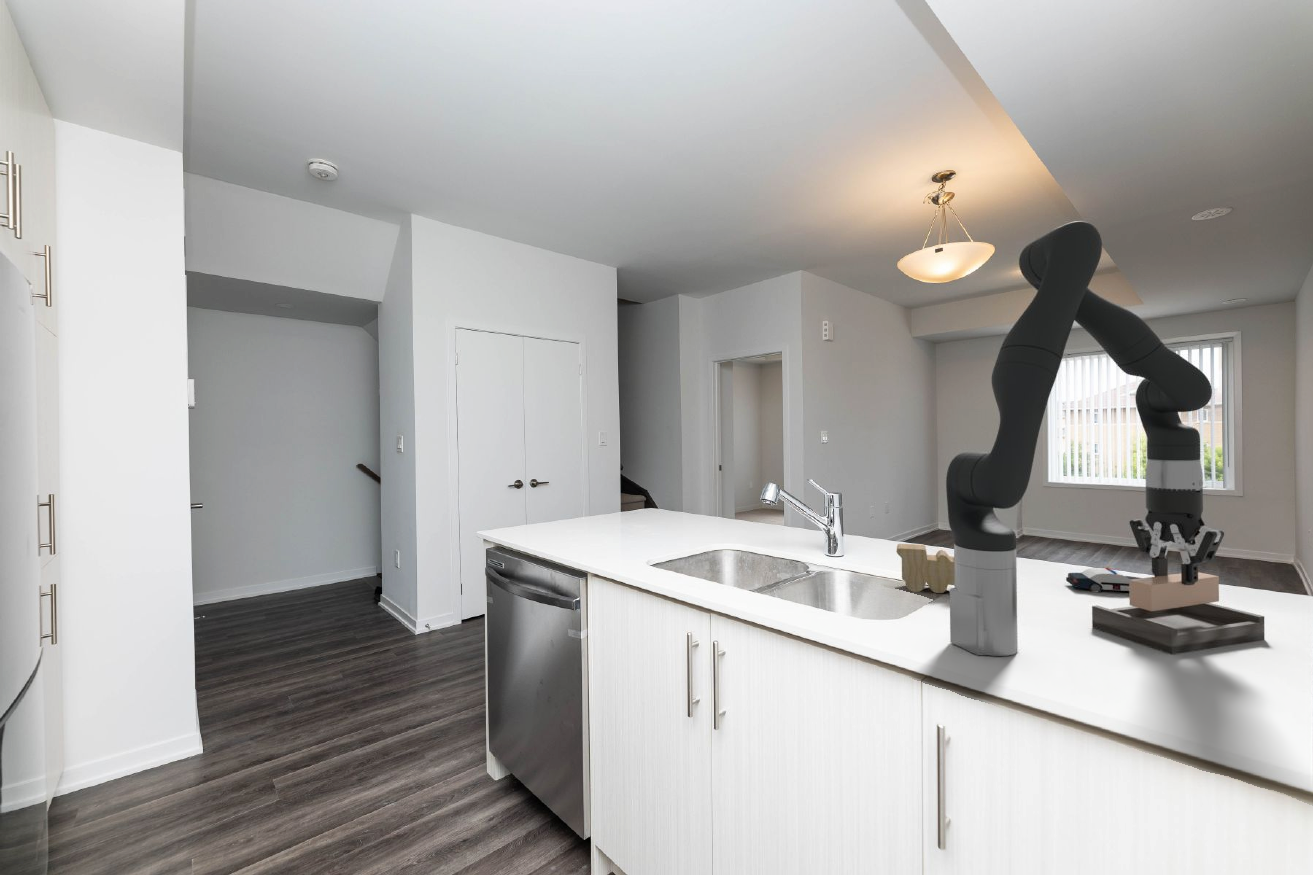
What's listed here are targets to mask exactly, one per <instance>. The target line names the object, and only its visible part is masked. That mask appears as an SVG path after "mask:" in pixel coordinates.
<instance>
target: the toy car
mask: <svg viewBox="0 0 1313 875" xmlns="http://www.w3.org/2000/svg"><path fill="white" fill-rule="evenodd" d="M1140 578H1141V577H1138V576H1130V575H1129V576H1128V575H1124V574H1122V573H1120V572H1118V571H1117V570H1116V569H1112V568H1110V567H1105V568H1103V567H1102V568H1101V567H1100V568H1099V567H1097V568H1096V567H1094V568H1091V567H1090V568H1087V569H1084V570H1083V571H1081V572H1069V573H1068V574H1067V576H1066V579H1065V581H1066V582H1068V584H1070V585H1071V586H1072V587H1075V588H1080V589H1086V590H1088V591H1090V592H1091V591H1099V592H1098V593H1101V592H1102V590H1104V591H1123V592H1125V591H1126V592H1129V580H1133V579H1140Z"/></svg>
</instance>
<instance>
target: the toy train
mask: <svg viewBox="0 0 1313 875" xmlns="http://www.w3.org/2000/svg"><path fill="white" fill-rule="evenodd" d="M896 553H897V555H898V556H899V557H900V558H901V579H902V581H904V582H905V586H906V588H907V590H909V591H911V592H912V593H919V592H922V591H923V590H924V589H925V588H926V585H927V586H928V587H929V589H930V590H931V591H932V592H934V593H936V594H942V593H945V592H946V590H948V587H949V586H953V587H955V579H954V556H951V555H949V554H948V553H947V552H946V551H945V550H943V549H939V550H938V551H937V552H936V554H935V555H934V554H928V553H927V547H926V545H925V544H916V543H915V544H913V543H911V544H910V543H898V544H897V546H896Z"/></svg>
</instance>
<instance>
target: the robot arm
mask: <svg viewBox="0 0 1313 875" xmlns="http://www.w3.org/2000/svg"><path fill="white" fill-rule="evenodd" d="M1101 237H1102V236H1101V234H1100V232H1099V230H1098V228H1096V227H1095V226H1094V225H1093V224H1092V223H1090V222H1087V221H1083V220H1078V221H1077V220H1076V221H1071V222H1069V223H1065V224H1063V225H1060V226H1058V227H1056V228H1054V229H1053V230H1051V231H1049V232H1047V233H1045V234H1044V235H1041V236H1040V237H1038V238H1036V239H1035V240H1033V241H1031V242H1029V243H1028V244H1027V245H1026V246H1025V247H1024V248H1023V249H1022V251H1021V253H1020V255H1019V258H1018V267H1019V270H1020V272H1021V275H1022V276H1023V277H1024V279H1025V280H1026V281H1027V282H1028V283H1029V284H1030V285H1031V286H1032V287H1033V288H1034V289H1035V290H1036V291H1037V292H1036V294H1035V296H1034V297H1033V299H1032V300H1031V302H1030V304H1029V305H1028V306H1027V307H1026V308H1025V310H1024V312H1023V313H1022V314H1021V315H1020V316H1019V317H1018V320H1016V322H1015V323H1014V325H1013V326H1012V327H1011V329H1010V330H1009V331H1008V333H1007V335H1006V336H1005V338H1004V340H1003V342H1002V344H1001V346H1000V348H999V351H998V355H997V358H996V361H995V364H994V366H993V370H992V373H991V388H992V391H993V395H994V398H995V402H996V404H997V408H998V412H999V425H998V426H999V427H998V430H997V434H996V437H995V442H994V444H993V447H992V449H991V451H989V452H988V451H964V452H961V453H959V454H957V455H955V456H954V457H953V459H952V460H951V461H950V463H949V465H948V468H947V472H946V478H945V479H946V480H945V485H946V486H945V488H946V489H945V490H946V492H945V493H946V503H947V504H946V505H947V516H948V524H949V528H950V530H951V533H952V536H953V543H954V544H953V551H954V552H953V557H954V579H955V586H954V587H952V588H950V589H949V625H950V626H949V628H950V629H949V630H950V632H949V633H950V634H949V635H950V636H949V637H950V643H951V644H954V645H955V646H958V647H959V648H962V649H964V650H965V651H968V652H970V653H973V655H977V656H991V657H992V656H993V657H994V656H997V657H1006V656H1008V657H1009V656H1012V655H1015V654H1016V653H1018V651H1019V650H1018V648H1019V646H1018V645H1019V642H1018V591H1017V589H1018V586H1017V585H1018V583H1017V580H1018V579H1017V578H1018V577H1017V570H1018V569H1017V535H1016V533H1015V531H1014V530H1013V529H1012V528H1010V527H1009V526H1007V525H1006V524H1005V523H1003V522H1002V521H1001V520H1000V518H999V517H997V515H996V513H995V512H994V509H1000V510H1006V509H1011V508H1013V507H1015V506H1016V505H1018V504H1019V502H1021V500H1022V499H1023V497H1024V495H1025V493H1026V491H1027V489H1028V485H1029V482H1030V478H1031V474H1032V468H1033V463H1034V459H1035V455H1036V454H1035V453H1036V448H1037V445H1038V438H1039V434H1040V430H1041V426H1042V422H1043V419H1044V415H1045V413H1046V412H1045V411H1046V409H1047V408H1046V407H1047V406H1048V402H1049V399H1050V395H1051V393H1052V389H1053V387H1054V385H1055V381H1056V379H1057V376H1058V373H1059V369H1060V366H1061V363H1062V360H1063V356H1064V353H1065V349H1066V345H1067V342H1068V340H1069V336H1070V334H1071V330H1072V328H1073V326H1074V323H1075V322H1076V323H1077V324H1078V325H1079V326H1080V327H1082V328H1083V330H1085V331H1086V332H1087V333H1088V334H1089V335H1090V336H1091V337H1092V338H1093V339H1094V340H1095V341H1096V342H1097V343H1098V344H1099V345H1100V346H1101V348H1102V349H1103V350H1104V351H1105V352H1106V353H1107V355H1108V356H1109V357H1110V358H1111V360H1112V361H1113V362H1114V363H1115V364H1116V365H1117V367H1119V369H1120V370H1121V371H1122V372H1123V373H1125V374H1127V375H1128V376H1129V375H1130V376H1134V377H1140V378H1143V379H1142V380H1141V381H1140V383H1139V384H1138V386H1137V389H1136V391H1135V406H1136V408H1137V412H1138V416H1139V419H1140V422H1141V425H1142V427H1143V430H1144V432H1145V435H1146V459H1147V460H1146V465H1145V466H1146V467H1145V475H1144V476H1145V508H1146V509H1147V514H1146V516H1145V518H1140V519H1131V520H1130V521H1129V526H1130V528H1131V531H1132V533H1133V536H1134V539H1135V541H1136V544H1137V546H1138V549H1139V551H1140V552H1141V553H1146V554H1148V555H1149V556H1150V557H1151V572H1152V575H1154V577H1156V576H1164V575H1169V572H1168V569H1169V568H1168V565H1169V562H1168V558H1169V557H1166V556H1167V555H1168V551H1169V547H1170V546H1171V545H1172V544H1175V547H1176V549H1177V550H1178V552H1179V553H1180V557H1181V560H1182V563H1180V566H1181V567H1180V573H1181V582H1182V584H1184V585H1194V584H1195V582H1197V581H1198V572H1199V565H1200V564H1202V563H1206V562H1207V563H1209V562H1212V561H1213V560H1214V558H1215V555H1216V553H1217V552H1218V549H1219V547H1220V545H1221V543H1222V540H1223V539H1224V536H1225V532H1224V531H1223V530H1221V529H1218V530H1217V529H1213V528H1211V527H1208V526H1206V524H1205V521H1203V518H1202V514H1203V511H1204V491H1203V490H1204V486H1203V485H1204V481H1203V475H1204V474H1203V468H1202V464H1201V461H1202V460H1201V434H1200V431H1199V430H1198V429H1197V428H1195V427H1193V426H1189V425H1186V424H1184V423H1182V422H1183V421H1182V420H1181V418H1180V415H1179V413H1189V412H1194V411H1198V410H1200V409H1201V410H1202V408H1204V407H1206V405H1208V404H1209V402H1210V400H1211V399H1212V395H1213V388H1212V384H1211V382H1210V380H1209V378H1208V377H1207V376H1206V375H1205V373H1204V372H1202V371H1201V369H1199V368H1198V367H1197V366H1195V365H1194V364H1192V362H1189V361H1188V360H1187V359H1185V358H1184V357H1183V356H1181V355H1180V354H1178V353H1177V352H1175V351H1173V350H1171V349H1170V348H1168V347H1167V346H1166V345H1165V344H1164V342H1163V341H1162V340H1161V339H1160V338H1159V337H1158V335H1157V334H1156V333H1155V331H1154V330H1153V329H1152V328H1151V327H1150V325H1148V324H1147V323H1146V321H1144V320H1143V319H1142V318H1141V317H1140V316H1138V315H1137V314H1135V313H1134V312H1133V311H1130V310H1129V309H1127V308H1125V307H1124V306H1121V305H1119V304H1116V303H1115V302H1113V301H1110V300H1108V299H1106V298H1104V297H1103V296H1101V295H1099V294H1097V293H1096V292H1094V291H1093V290H1091V289H1090V288H1089V285H1090V283H1091V281H1092V279H1093V277H1094V275H1095V273H1096V270H1097V269H1098V265H1099V263H1100V260H1101V257H1102V252H1103V241H1102V238H1101ZM1150 529H1151V531H1152V534H1151V532H1150ZM1199 534H1201V535H1200V538H1199V539H1201V542H1200V544H1199V542H1198V539H1197V537H1198V535H1199Z"/></svg>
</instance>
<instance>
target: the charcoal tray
mask: <svg viewBox="0 0 1313 875" xmlns="http://www.w3.org/2000/svg"><path fill="white" fill-rule="evenodd" d="M1091 611H1092V612H1091V615H1092V618H1091V619H1092V620H1091V621H1092V622H1091V624H1092V626H1091V628H1092V627H1093V629H1096V630H1098V629H1099V630H1098V631H1101V632H1103V633H1107V634H1110V635H1113V636H1116V637H1118V638H1123V639H1125V640H1128V641H1131V642H1134V643H1137V644H1140V645H1143V646H1147V647H1148V648H1151V649H1154V650H1155V649H1156V650H1158V651H1160V650H1162V651H1161V652H1163V651H1164V653H1166V654H1169V653H1170V655H1176V654H1175V653H1177V654H1182V653H1188V652H1194V651H1193V650H1195V651H1200V650H1206V649H1212V648H1220V647H1225V646H1233V645H1239V644H1245V643H1251V642H1257V641H1264V640H1265V616H1264V615H1260V614H1257V613H1252V612H1248V611H1244V610H1240V609H1236V608H1233V607H1232V608H1231V607H1227V606H1225V605H1219V604H1216V603H1213V602H1212V603H1205V604H1198V605H1191V606H1184V607H1178V608H1171V609H1164V610H1157V611H1149V610H1145V609H1142V608H1138V607H1135V606H1131V605H1129V606H1124V607H1118V608H1117V607H1115V608H1108V607H1104V606H1101V605H1092V606H1091Z"/></svg>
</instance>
